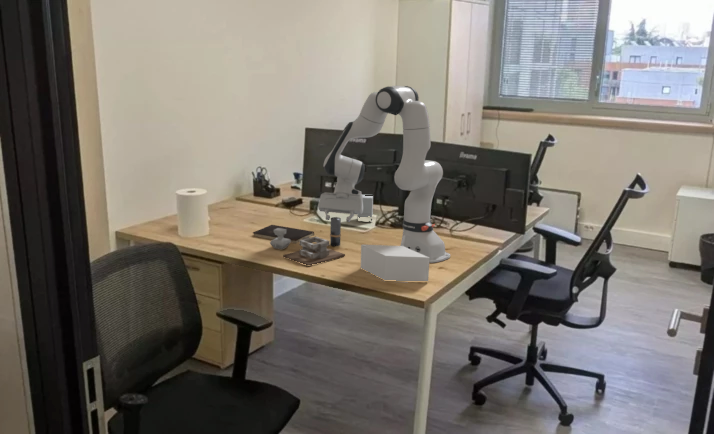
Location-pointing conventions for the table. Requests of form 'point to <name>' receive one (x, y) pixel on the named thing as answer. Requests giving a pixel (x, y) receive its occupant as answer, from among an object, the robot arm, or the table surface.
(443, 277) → the table surface
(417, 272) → the grey wedge block
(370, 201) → the supplement box
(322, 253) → the collar stand
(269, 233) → the hardcover book
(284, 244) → the stamp
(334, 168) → the robot arm
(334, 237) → the tube
